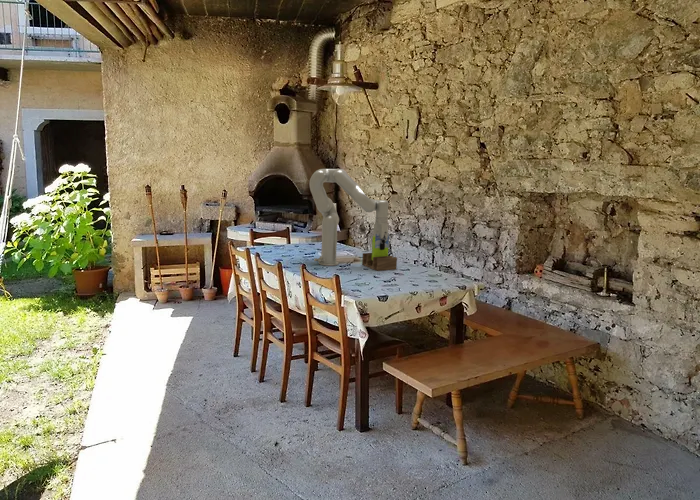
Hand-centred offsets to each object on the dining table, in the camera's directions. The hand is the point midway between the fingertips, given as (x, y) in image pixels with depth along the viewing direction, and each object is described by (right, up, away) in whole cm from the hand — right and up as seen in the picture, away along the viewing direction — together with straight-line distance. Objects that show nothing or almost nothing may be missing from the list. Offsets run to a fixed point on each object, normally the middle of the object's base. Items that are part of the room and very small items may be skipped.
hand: (380, 248), depth 351 cm
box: (0, -7, +1) cm, 7 cm away
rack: (0, -12, +2) cm, 12 cm away
